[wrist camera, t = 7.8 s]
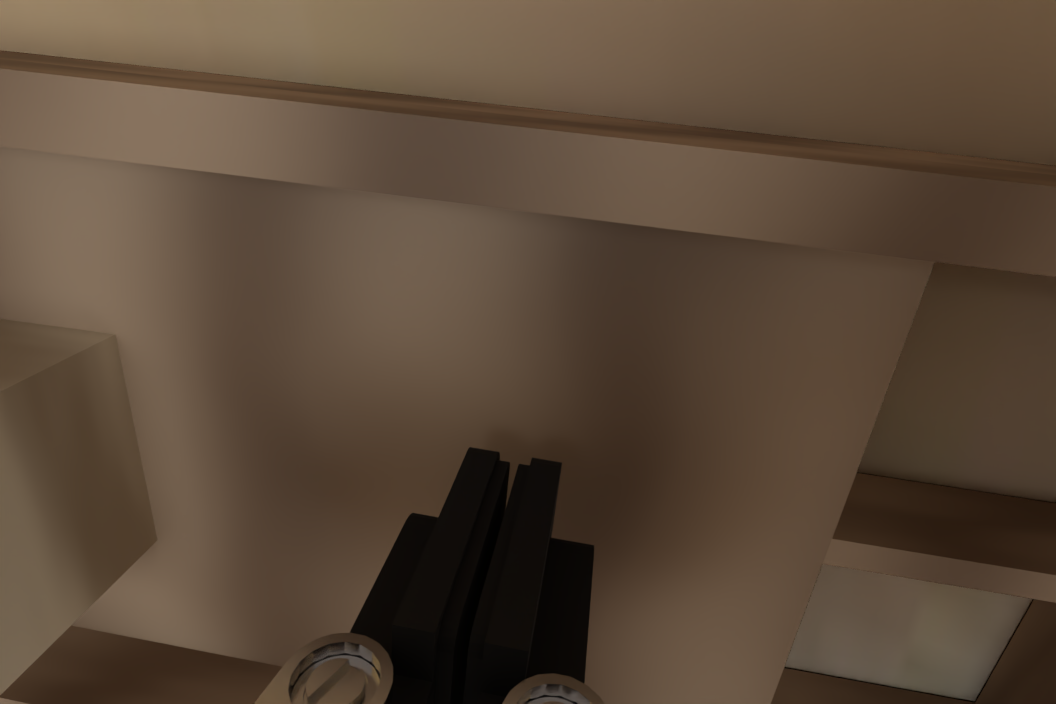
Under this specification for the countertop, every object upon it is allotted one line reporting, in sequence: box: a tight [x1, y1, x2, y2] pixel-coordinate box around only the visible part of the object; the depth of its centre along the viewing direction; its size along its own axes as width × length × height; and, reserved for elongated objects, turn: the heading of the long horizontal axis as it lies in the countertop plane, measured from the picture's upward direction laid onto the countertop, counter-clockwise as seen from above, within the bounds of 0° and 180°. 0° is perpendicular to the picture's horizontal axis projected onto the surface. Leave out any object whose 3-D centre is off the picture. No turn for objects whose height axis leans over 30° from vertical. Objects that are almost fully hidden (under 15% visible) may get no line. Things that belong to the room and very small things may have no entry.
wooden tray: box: [0, 51, 1056, 704], centre depth 12 cm, size 28×14×6 cm, turn 85°
